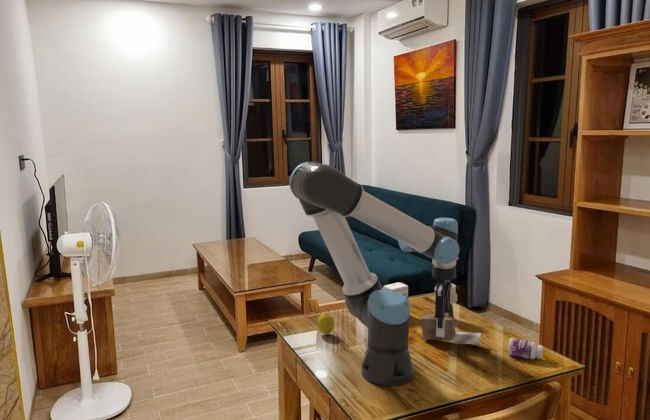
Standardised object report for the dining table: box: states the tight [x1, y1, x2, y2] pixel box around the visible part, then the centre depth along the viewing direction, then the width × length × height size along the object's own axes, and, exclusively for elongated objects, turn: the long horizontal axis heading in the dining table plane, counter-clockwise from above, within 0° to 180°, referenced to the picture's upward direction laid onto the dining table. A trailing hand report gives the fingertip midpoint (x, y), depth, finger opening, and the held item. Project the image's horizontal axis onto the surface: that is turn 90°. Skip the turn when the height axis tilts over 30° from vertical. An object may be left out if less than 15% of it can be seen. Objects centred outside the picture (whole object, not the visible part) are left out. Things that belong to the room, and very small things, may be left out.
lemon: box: [317, 312, 335, 336], centre depth 171 cm, size 6×6×8 cm
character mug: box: [434, 283, 458, 316], centre depth 185 cm, size 11×7×13 cm, turn 32°
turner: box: [421, 314, 482, 345], centre depth 163 cm, size 18×7×7 cm, turn 64°
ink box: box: [382, 281, 409, 300], centre depth 189 cm, size 8×5×12 cm, turn 123°
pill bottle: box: [507, 337, 544, 360], centre depth 154 cm, size 5×5×10 cm
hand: (441, 333), depth 165 cm, fingers closed on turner, 4 cm apart
